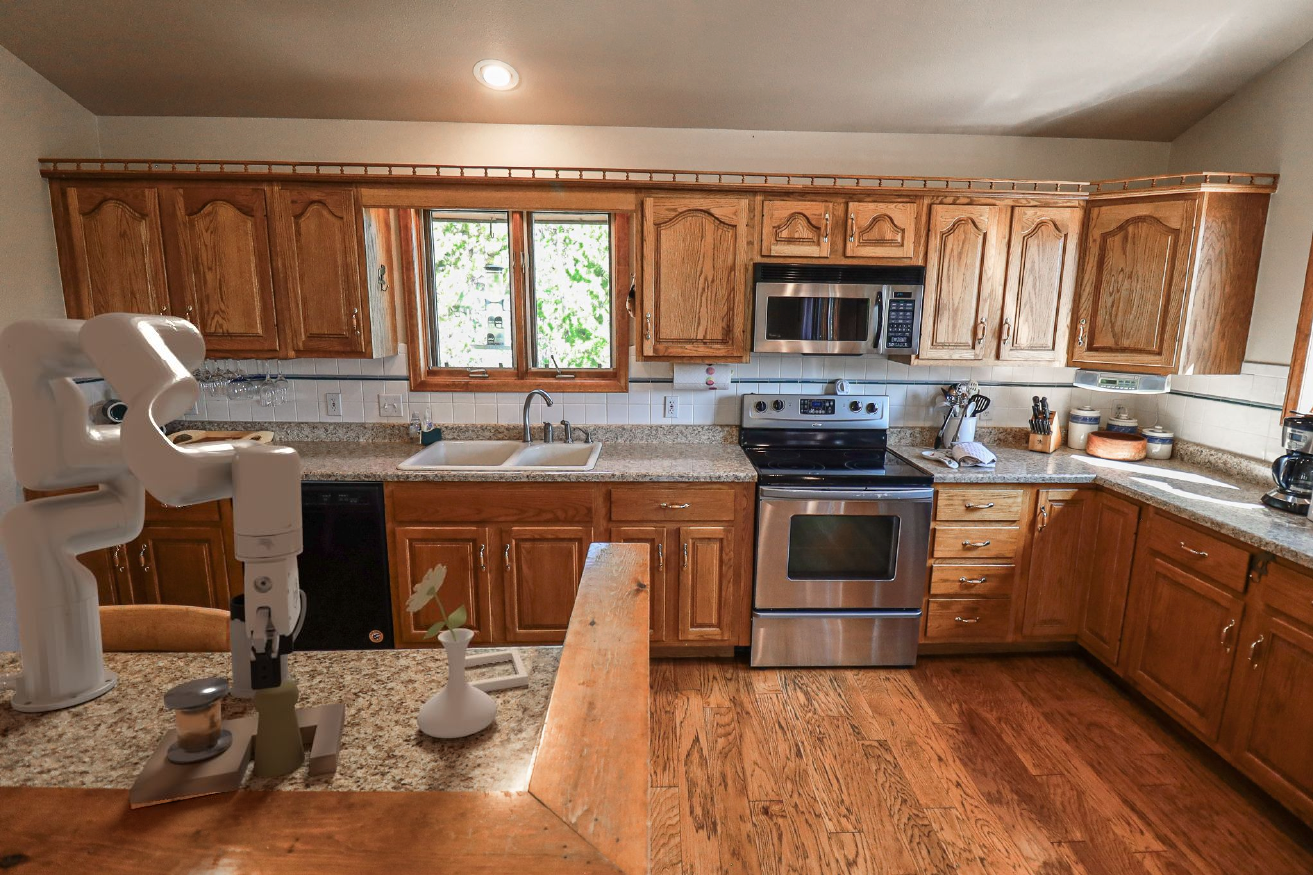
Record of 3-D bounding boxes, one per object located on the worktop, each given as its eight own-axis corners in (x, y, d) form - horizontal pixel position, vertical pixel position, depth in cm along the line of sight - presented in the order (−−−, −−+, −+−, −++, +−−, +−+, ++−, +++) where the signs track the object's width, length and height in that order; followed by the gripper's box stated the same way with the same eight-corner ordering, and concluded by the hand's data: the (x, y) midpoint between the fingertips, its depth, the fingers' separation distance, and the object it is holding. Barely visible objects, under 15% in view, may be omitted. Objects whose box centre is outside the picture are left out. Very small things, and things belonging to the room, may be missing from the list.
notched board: (130, 809, 78) (129, 790, 78) (169, 746, 91) (168, 729, 91) (336, 771, 86) (335, 753, 86) (344, 718, 99) (344, 702, 99)
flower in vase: (464, 698, 106) (461, 545, 103) (513, 720, 99) (511, 557, 97) (390, 734, 95) (384, 564, 92) (440, 762, 89) (435, 580, 86)
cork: (283, 780, 84) (278, 697, 83) (241, 774, 85) (237, 693, 84) (315, 753, 90) (312, 676, 89) (276, 748, 91) (272, 671, 90)
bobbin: (159, 769, 82) (155, 707, 81) (177, 739, 89) (173, 682, 88) (225, 758, 85) (221, 698, 84) (238, 730, 91) (234, 674, 90)
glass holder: (216, 693, 106) (211, 603, 104) (287, 657, 120) (283, 576, 118) (260, 701, 104) (255, 609, 102) (328, 663, 117) (324, 581, 116)
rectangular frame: (458, 695, 106) (457, 686, 106) (453, 666, 117) (452, 658, 117) (528, 684, 110) (528, 676, 110) (517, 656, 121) (517, 649, 121)
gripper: (292, 560, 78) (296, 697, 80) (310, 524, 94) (313, 640, 96) (217, 565, 75) (223, 707, 77) (249, 527, 91) (254, 646, 93)
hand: (273, 669), depth 87 cm, fingers open, 9 cm apart
